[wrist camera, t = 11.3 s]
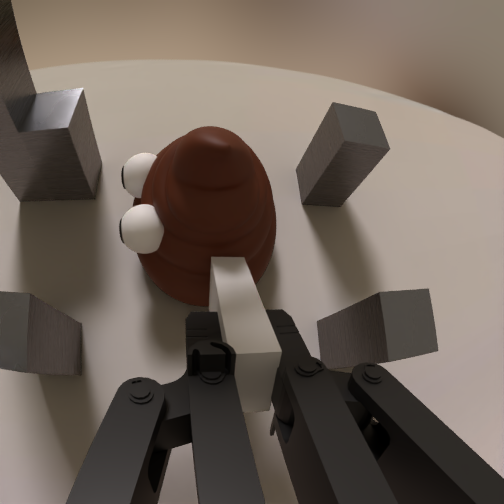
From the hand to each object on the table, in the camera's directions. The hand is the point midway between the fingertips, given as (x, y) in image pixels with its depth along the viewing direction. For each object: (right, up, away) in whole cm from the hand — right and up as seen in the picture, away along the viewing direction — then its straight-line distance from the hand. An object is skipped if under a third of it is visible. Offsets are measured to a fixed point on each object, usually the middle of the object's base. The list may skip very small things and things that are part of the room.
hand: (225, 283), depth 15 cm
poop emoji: (-2, +3, +5) cm, 6 cm away
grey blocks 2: (-2, -4, +2) cm, 5 cm away
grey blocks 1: (-2, +6, +6) cm, 9 cm away
